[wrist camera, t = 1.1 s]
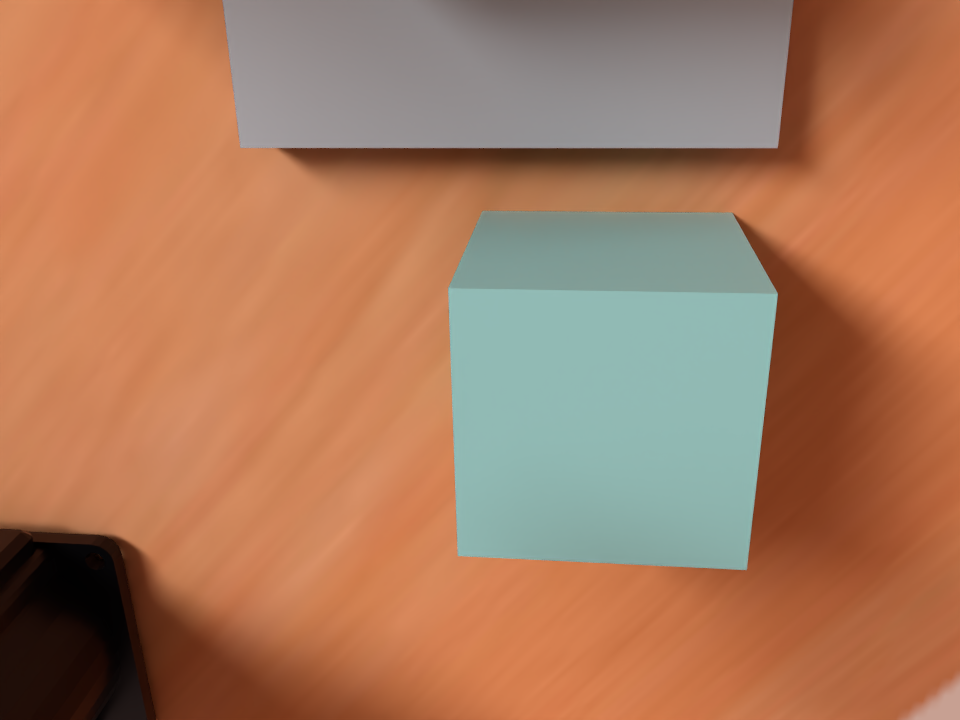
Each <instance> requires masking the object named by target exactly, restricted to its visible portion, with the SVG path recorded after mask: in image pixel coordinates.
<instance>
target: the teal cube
mask: <svg viewBox="0 0 960 720" xmlns="http://www.w3.org/2000/svg"><path fill="white" fill-rule="evenodd" d="M448 295H449V323H450V351H451V379H452V407H453V435H454V463H455V491H456V519H457V547H458V556H470V557H491V558H511V559H532V560H552V561H573V562H593V563H614V564H634V565H655V566H675V567H696V568H716V569H736V570H747V563H748V554H749V546H750V537H751V528H752V519H753V510H754V501H755V492H756V484H757V475H758V466H759V457H760V448H761V439H762V430H763V422H764V413H765V404H766V395H767V386H768V377H769V369H770V360H771V351H772V342H773V333H774V324H775V315H776V307H777V298H778V293H777V291H776V289H775V288H774V286H773V284H772V282H771V281H770V279H769V277H768V275H767V274H766V272H765V270H764V268H763V266H762V265H761V263H760V261H759V259H758V258H757V256H756V254H755V252H754V250H753V249H752V247H751V245H750V243H749V242H748V240H747V238H746V236H745V234H744V233H743V231H742V229H741V227H740V226H739V224H738V222H737V220H736V218H735V217H734V215H733V213H697V212H565V211H482V213H481V215H480V218H479V220H478V222H477V224H476V227H475V229H474V231H473V233H472V236H471V238H470V240H469V242H468V245H467V247H466V249H465V252H464V254H463V256H462V258H461V261H460V263H459V265H458V267H457V270H456V272H455V274H454V276H453V279H452V281H451V283H450V286H449V288H448Z"/></svg>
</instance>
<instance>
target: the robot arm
mask: <svg viewBox="0 0 960 720" xmlns="http://www.w3.org/2000/svg"><path fill="white" fill-rule="evenodd" d="M94 553H96V554H99V555H100V556H101V557H102V558H103V560H100V559H98V558H97V557H96V556H95V555H94ZM0 720H156V717H155V712H154V708H153V703H152V698H151V693H150V688H149V683H148V679H147V674H146V669H145V664H144V659H143V654H142V649H141V645H140V640H139V635H138V630H137V625H136V620H135V616H134V611H133V606H132V601H131V596H130V591H129V587H128V582H127V577H126V572H125V567H124V562H123V557H122V553H121V551H120V548H119V546H118V545H117V544H116V543H115V542H114V541H113V540H111V539H109V538H108V537H104V536H100V535H82V534H62V533H42V532H25V531H22V530H14V529H0Z"/></svg>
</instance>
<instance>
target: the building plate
mask: <svg viewBox="0 0 960 720" xmlns="http://www.w3.org/2000/svg"><path fill="white" fill-rule="evenodd" d="M793 1H794V0H223V8H224V16H225V25H226V33H227V41H228V49H229V58H230V66H231V74H232V83H233V91H234V99H235V107H236V116H237V124H238V132H239V140H240V148H778V142H779V132H780V123H781V113H782V104H783V95H784V85H785V76H786V66H787V57H788V48H789V38H790V29H791V19H792V10H793Z"/></svg>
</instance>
